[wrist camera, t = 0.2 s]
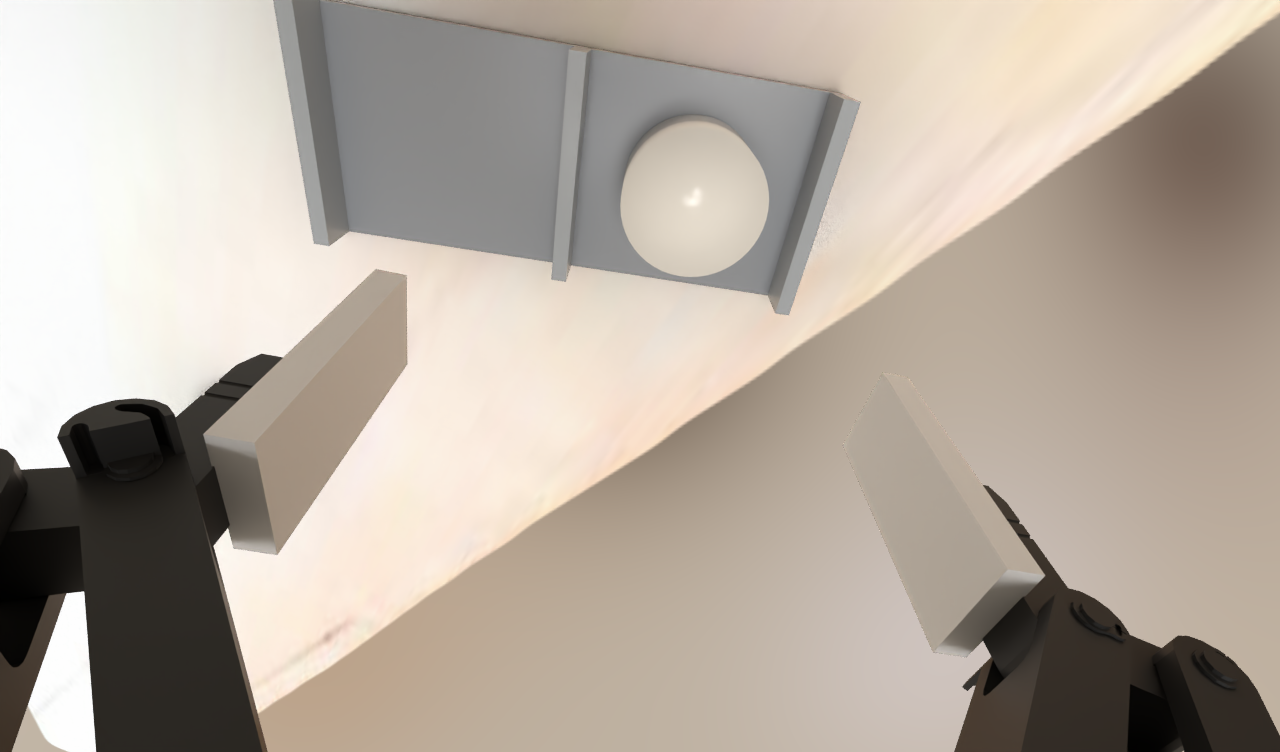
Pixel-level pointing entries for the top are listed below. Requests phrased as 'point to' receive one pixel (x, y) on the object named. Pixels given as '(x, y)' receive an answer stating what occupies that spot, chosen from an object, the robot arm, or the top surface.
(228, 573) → the top surface
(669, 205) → the white egg shape
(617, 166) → the rack
